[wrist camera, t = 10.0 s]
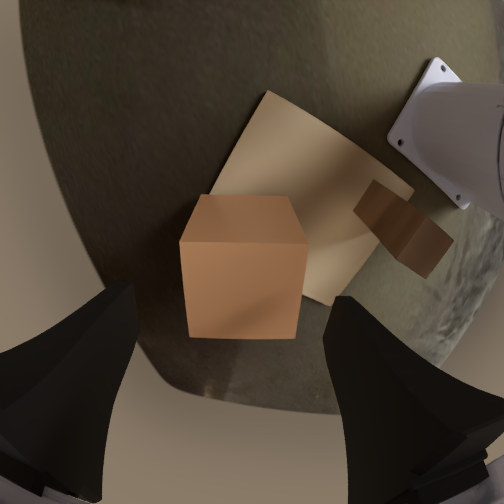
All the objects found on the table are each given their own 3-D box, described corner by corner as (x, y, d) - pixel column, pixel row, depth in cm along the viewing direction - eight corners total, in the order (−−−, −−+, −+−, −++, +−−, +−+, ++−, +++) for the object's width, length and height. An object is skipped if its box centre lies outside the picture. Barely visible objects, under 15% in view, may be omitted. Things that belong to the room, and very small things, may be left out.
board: (410, 187, 19) (414, 190, 18) (328, 302, 23) (329, 306, 23) (267, 90, 16) (268, 90, 15) (187, 236, 20) (186, 240, 20)
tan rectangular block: (287, 196, 18) (308, 244, 12) (281, 270, 20) (294, 338, 14) (201, 194, 18) (179, 241, 12) (203, 269, 20) (189, 337, 14)
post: (399, 198, 19) (454, 240, 13) (379, 228, 20) (425, 279, 14) (373, 179, 18) (426, 215, 12) (352, 210, 19) (395, 259, 13)
